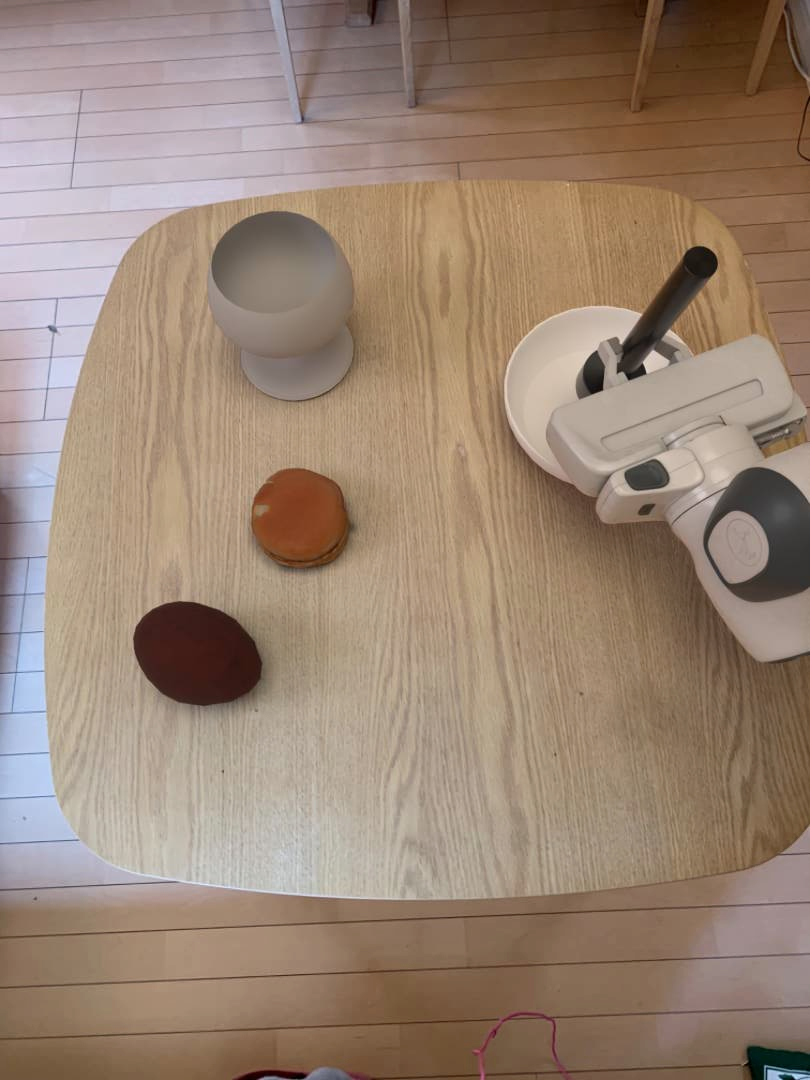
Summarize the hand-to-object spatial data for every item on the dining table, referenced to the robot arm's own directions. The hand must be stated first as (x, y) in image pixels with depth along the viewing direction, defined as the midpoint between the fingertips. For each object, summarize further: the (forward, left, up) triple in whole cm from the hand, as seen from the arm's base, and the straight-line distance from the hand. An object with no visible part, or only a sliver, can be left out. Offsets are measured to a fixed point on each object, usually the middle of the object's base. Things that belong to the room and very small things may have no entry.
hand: (625, 335), depth 73 cm
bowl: (0, 0, -16) cm, 16 cm away
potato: (+25, +38, -16) cm, 48 cm away
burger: (+23, +22, -16) cm, 35 cm away
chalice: (+32, +4, -16) cm, 36 cm away
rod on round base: (0, 0, -9) cm, 9 cm away
